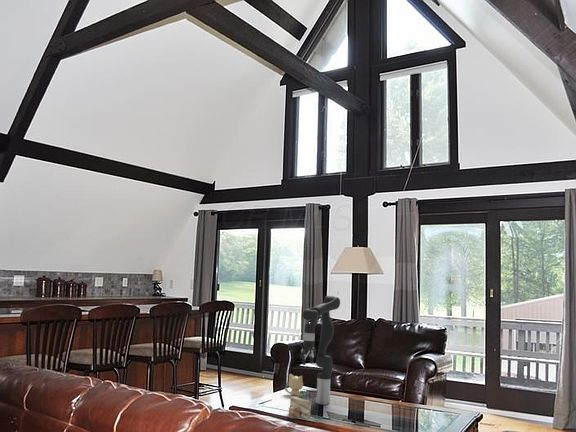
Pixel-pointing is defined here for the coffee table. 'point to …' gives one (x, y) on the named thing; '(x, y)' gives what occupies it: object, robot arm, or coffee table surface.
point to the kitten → (295, 385)
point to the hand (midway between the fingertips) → (307, 364)
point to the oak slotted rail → (294, 412)
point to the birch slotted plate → (301, 406)
